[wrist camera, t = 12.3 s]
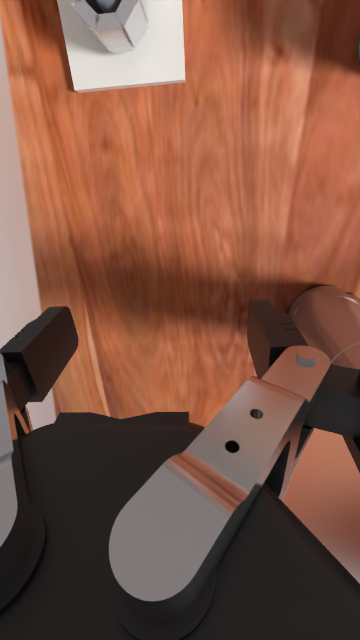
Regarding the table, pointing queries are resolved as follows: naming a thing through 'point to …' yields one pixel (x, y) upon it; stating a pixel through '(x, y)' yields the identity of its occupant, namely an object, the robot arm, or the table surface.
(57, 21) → the table surface
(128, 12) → the ring
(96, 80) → the shaft block
